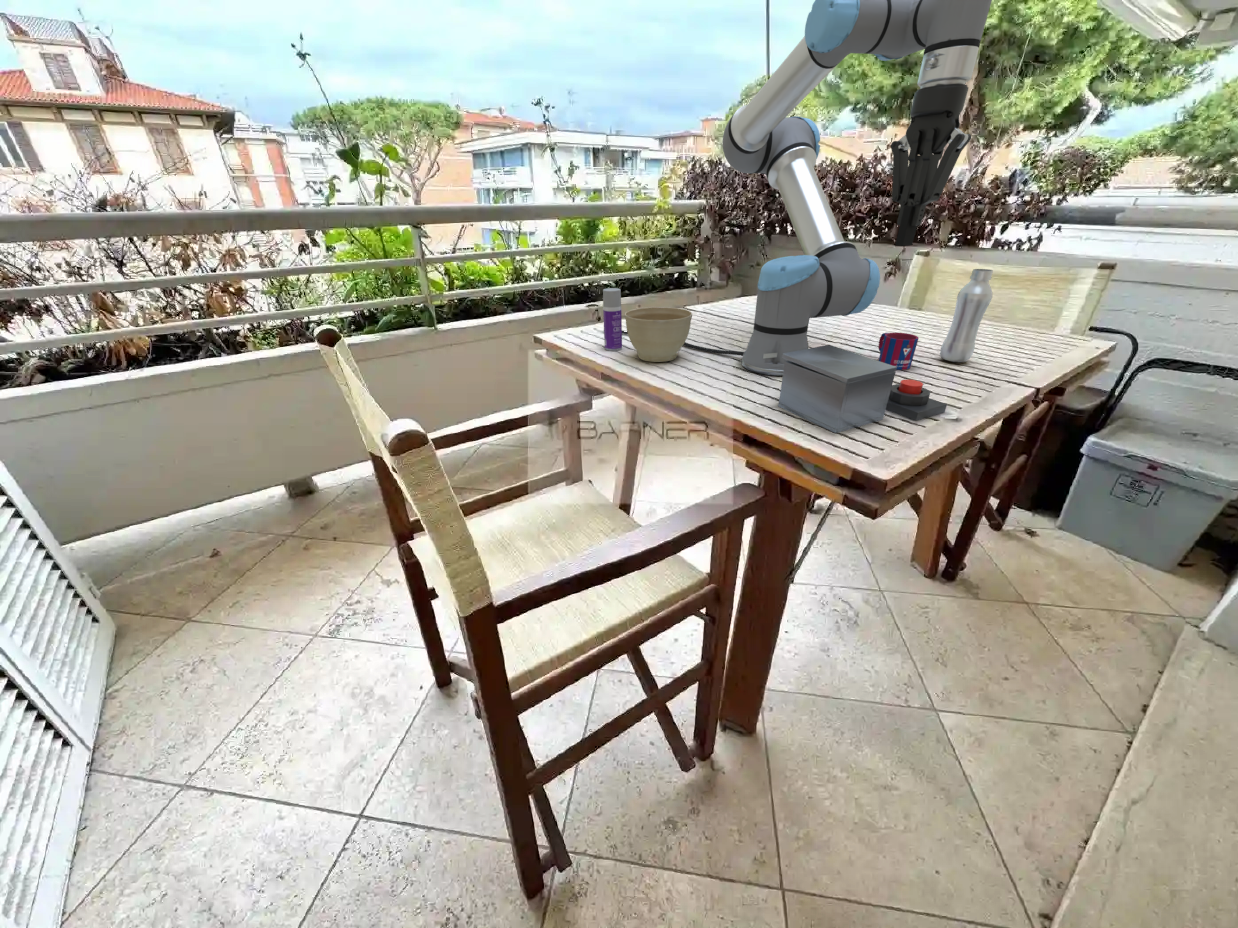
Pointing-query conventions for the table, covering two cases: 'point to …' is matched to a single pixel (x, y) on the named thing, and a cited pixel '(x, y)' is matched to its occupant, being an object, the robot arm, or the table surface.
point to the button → (910, 386)
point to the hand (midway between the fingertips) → (903, 245)
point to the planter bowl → (658, 331)
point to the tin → (833, 398)
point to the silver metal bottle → (967, 317)
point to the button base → (913, 404)
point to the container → (612, 319)
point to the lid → (839, 363)
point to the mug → (897, 349)
